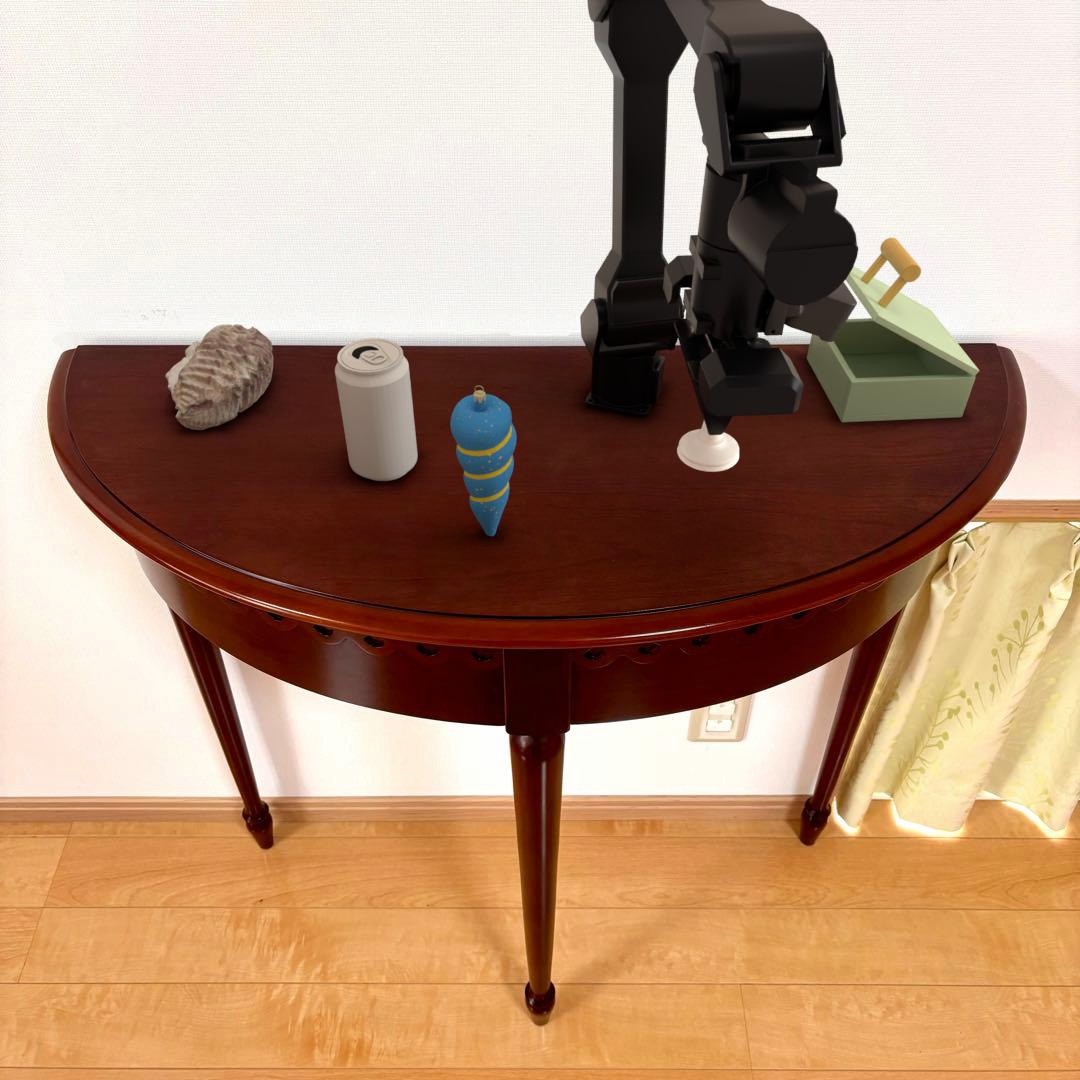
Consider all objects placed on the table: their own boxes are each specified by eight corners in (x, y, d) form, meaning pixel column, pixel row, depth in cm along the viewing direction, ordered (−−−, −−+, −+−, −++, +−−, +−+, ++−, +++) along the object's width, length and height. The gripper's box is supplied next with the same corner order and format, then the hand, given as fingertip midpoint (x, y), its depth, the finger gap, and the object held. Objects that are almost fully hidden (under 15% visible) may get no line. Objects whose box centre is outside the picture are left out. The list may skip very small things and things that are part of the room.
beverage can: (390, 437, 94) (376, 327, 86) (432, 465, 90) (422, 353, 83) (336, 464, 91) (317, 353, 83) (378, 495, 87) (362, 381, 79)
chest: (841, 422, 96) (851, 382, 93) (806, 358, 105) (814, 320, 102) (962, 417, 97) (975, 377, 94) (916, 354, 106) (927, 315, 103)
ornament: (510, 558, 81) (506, 408, 71) (451, 550, 81) (439, 401, 72) (523, 519, 85) (521, 372, 75) (467, 512, 85) (457, 365, 75)
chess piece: (748, 447, 77) (769, 338, 71) (723, 479, 74) (741, 368, 68) (693, 428, 79) (708, 320, 73) (666, 458, 76) (679, 348, 69)
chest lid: (874, 321, 89) (915, 271, 86) (833, 262, 98) (869, 215, 95) (974, 376, 93) (1017, 331, 90) (926, 315, 103) (963, 272, 100)
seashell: (189, 333, 103) (213, 269, 96) (271, 372, 107) (301, 314, 100) (139, 429, 95) (161, 366, 87) (230, 468, 98) (259, 412, 91)
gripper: (906, 296, 58) (850, 496, 68) (818, 178, 72) (782, 360, 82) (725, 302, 57) (696, 503, 68) (671, 182, 71) (654, 364, 82)
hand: (712, 426), depth 75 cm, fingers closed on chess piece
